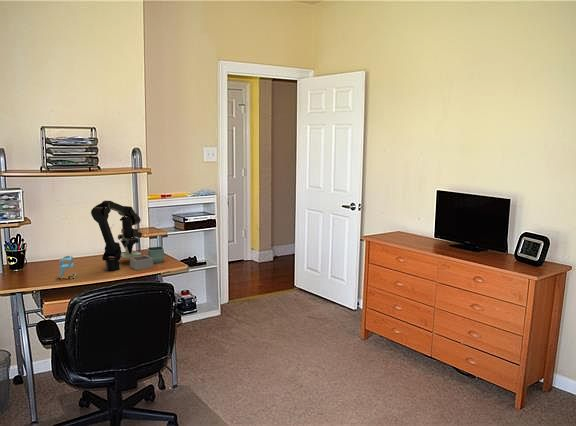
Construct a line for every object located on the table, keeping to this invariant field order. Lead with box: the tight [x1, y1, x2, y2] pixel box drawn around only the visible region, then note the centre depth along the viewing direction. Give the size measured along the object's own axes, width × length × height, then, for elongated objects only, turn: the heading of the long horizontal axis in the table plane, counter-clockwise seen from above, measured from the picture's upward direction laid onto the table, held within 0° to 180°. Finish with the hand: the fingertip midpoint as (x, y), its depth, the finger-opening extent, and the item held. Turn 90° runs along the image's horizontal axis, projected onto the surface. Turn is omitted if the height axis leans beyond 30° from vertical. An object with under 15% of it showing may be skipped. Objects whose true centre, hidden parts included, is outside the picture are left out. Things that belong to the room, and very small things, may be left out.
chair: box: [58, 255, 77, 278], centre depth 281 cm, size 8×8×12 cm
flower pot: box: [147, 245, 165, 264], centre depth 311 cm, size 9×9×9 cm
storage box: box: [129, 254, 154, 271], centre depth 299 cm, size 10×10×6 cm
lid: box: [121, 247, 143, 259], centre depth 310 cm, size 11×11×5 cm
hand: (128, 252), depth 310 cm, fingers closed on lid, 4 cm apart
